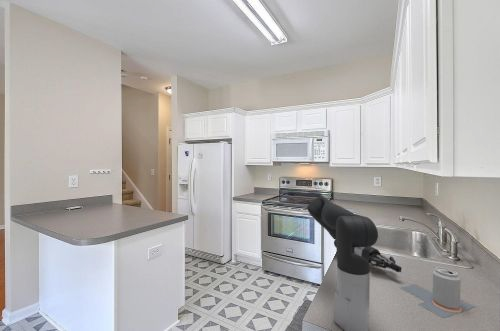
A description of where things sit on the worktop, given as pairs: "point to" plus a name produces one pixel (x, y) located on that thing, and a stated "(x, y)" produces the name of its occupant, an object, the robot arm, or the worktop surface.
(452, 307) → the can
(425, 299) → the t mat
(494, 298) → the worktop surface
